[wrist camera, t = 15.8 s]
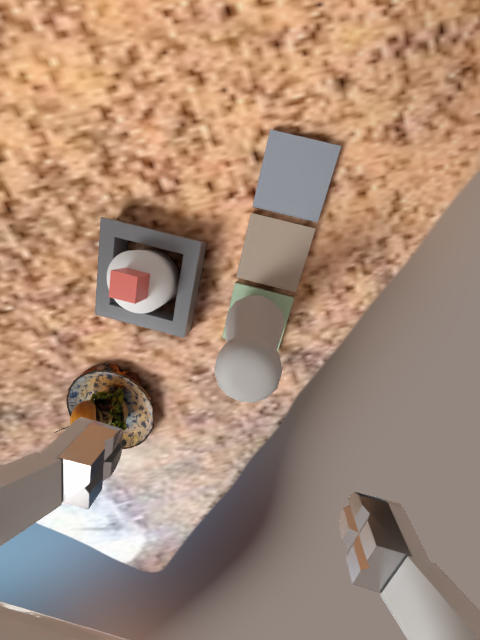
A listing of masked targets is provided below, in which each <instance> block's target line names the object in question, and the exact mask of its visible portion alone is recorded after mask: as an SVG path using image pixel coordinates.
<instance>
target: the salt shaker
mask: <svg viewBox="0 0 480 640" xmlns="http://www.w3.org/2000/svg"><path fill="white" fill-rule="evenodd" d="M225 327H226V344H225V345H224V347H223V348H222V349H221V350H220V352H219V353H218V356H217V360H216V364H215V372H214V373H215V376H216V379H217V383H218V386H219V387H220V388H221V389H222V390H223V391H224V392H225V394H226V395H227V396H229V397H231V398H233V399H236V400H238V401H240V402H253V403H255V402H257V401H260V400H263V399H265V398H268V397H269V396H270V395H271V394H272V393H273V392H274V391H275V390H276V389H277V387H278V384H279V381H280V377H281V373H282V367H281V362H280V356H279V353H278V352H277V347H278V345H279V342H280V339H281V336H282V332H283V329H284V319H283V313H282V311H281V310H280V309H279V308H278V306H277V305H276V304H275V303H274V302H273V301H271V300H270V299H268V298H266V297H264V296H262V295H261V296H247V297H244V298H242V299H240V300H237V301H236V302H235V303H234V304H233V306H232V307H231V308H230V309H229V311H228V314H227V318H226V322H225Z"/></svg>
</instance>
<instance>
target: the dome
mask: <svg viewBox="0 0 480 640" xmlns="http://www.w3.org/2000/svg"><path fill="white" fill-rule="evenodd" d="M179 279H180V276H179V271H178V269H177V267H176V265H175V263H174V262H173V260H172V259H171V258H170V257H169V256H167V255H166V254H164V253H163V252H160V251H158V250H152V249H148V250H131V251H125V252H122V253H120V254H119V255H117V256H116V257H115V258H114V259H113V260H112V261H111V263H110V265H109V267H108V270H107V285H108V289H109V297H110V298H114V300H115V301H116V302H117V303H118V304H119V305H120V306H121V307H123V308H124V309H126V310H128V311H130V312H133V313H140V314H142V313H149V312H151V311H153V310H155V309H157V308H159V307H160V306H162V305H164V304H166V303H167V302H169V301H170V300H172V299H173V298H174V296H175V295H176V293H177V292H178V285H179Z"/></svg>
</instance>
